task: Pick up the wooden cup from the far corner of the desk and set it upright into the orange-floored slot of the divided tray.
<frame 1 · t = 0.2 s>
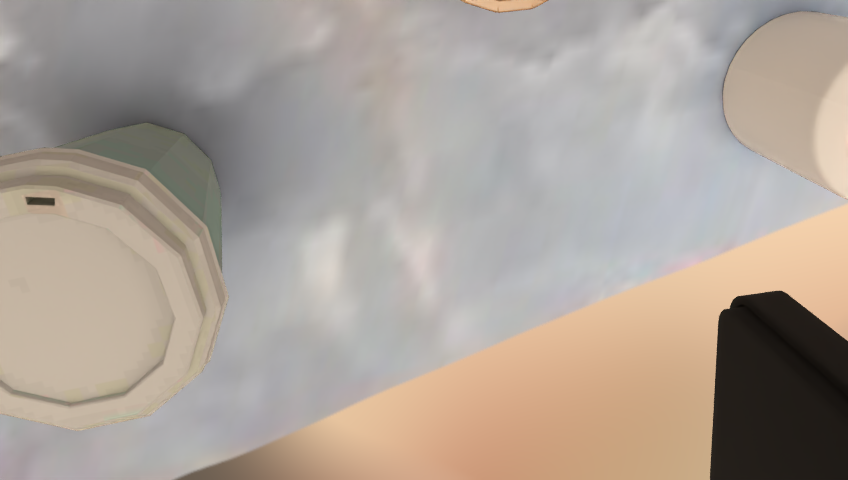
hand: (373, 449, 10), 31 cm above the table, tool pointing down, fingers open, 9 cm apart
pill bottle: (789, 85, 42), on the table
disposable coffee cup: (147, 184, 40), on the table
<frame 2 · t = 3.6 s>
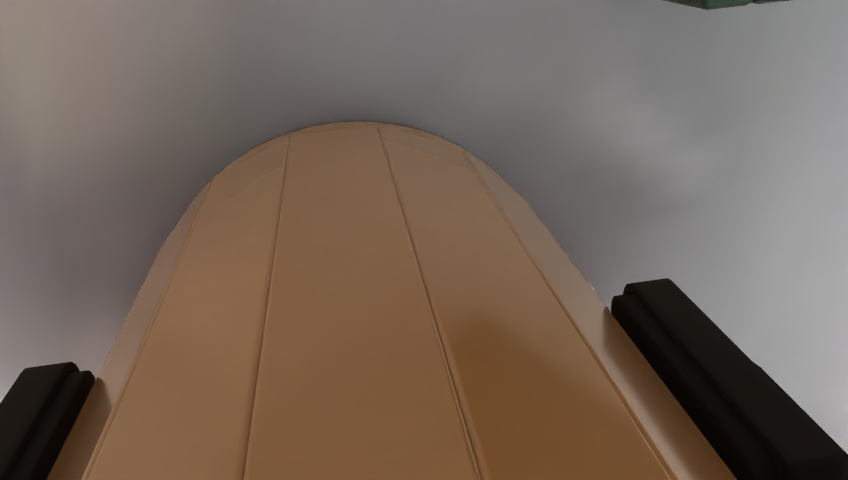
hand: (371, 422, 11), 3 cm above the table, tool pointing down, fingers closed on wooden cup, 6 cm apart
wooden cup: (359, 312, 14), on the table, touching gripper
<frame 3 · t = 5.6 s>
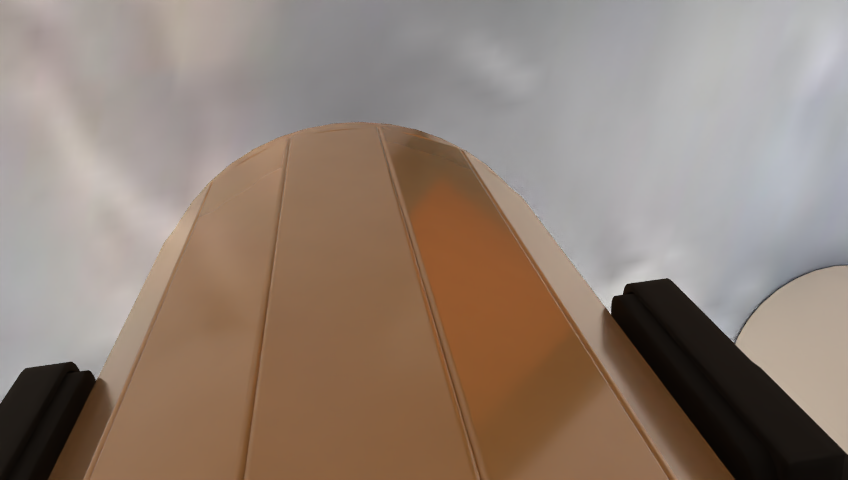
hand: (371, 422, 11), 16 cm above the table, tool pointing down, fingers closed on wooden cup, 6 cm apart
pill bottle: (821, 355, 30), on the table
wooden cup: (359, 313, 14), point 12 cm above the table, touching gripper
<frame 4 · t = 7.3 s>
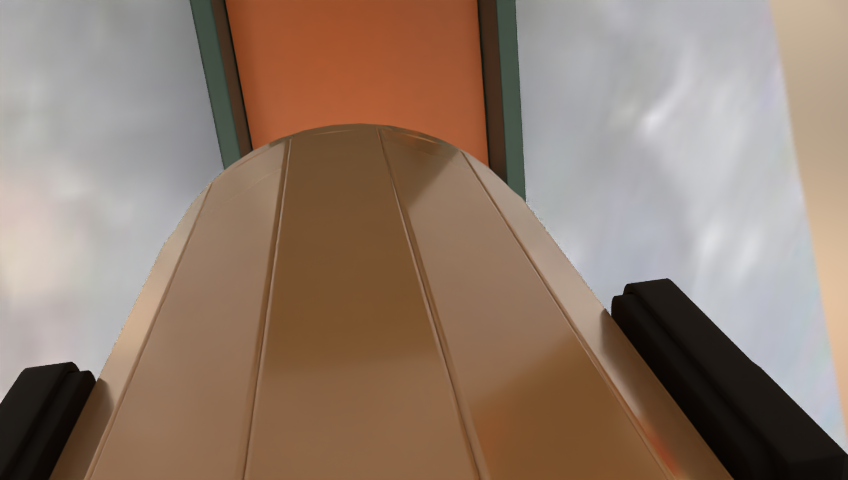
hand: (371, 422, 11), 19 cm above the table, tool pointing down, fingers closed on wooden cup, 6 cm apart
wooden cup: (359, 314, 14), point 15 cm above the table, touching gripper
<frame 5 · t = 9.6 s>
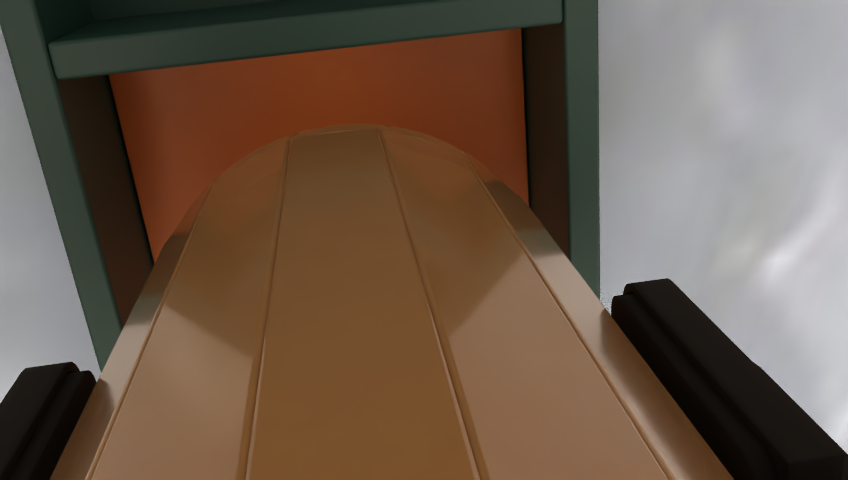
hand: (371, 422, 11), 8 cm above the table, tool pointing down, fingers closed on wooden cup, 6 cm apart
divided tray: (314, 10, 16), on the table
wooden cup: (359, 314, 14), point 4 cm above the table, touching gripper
when the fingers open (4 cm above the table, at t = 11.1 s): wooden cup stays where it is, resting on divided tray.
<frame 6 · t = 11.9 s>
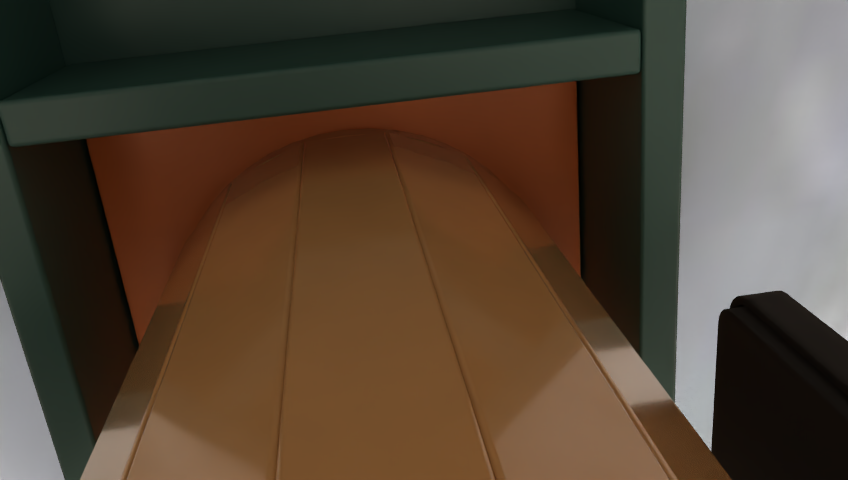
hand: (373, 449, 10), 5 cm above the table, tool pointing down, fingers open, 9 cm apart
divided tray: (329, 49, 13), on the table
wooden cup: (368, 308, 14), point 1 cm above the table, touching divided tray
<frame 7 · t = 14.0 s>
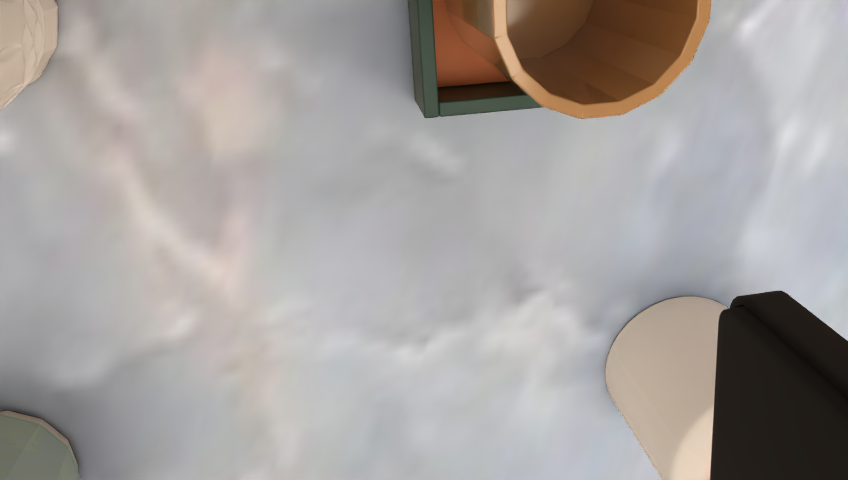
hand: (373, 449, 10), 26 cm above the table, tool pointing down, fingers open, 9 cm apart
pill bottle: (675, 361, 41), on the table
disposable coffee cup: (6, 461, 39), on the table
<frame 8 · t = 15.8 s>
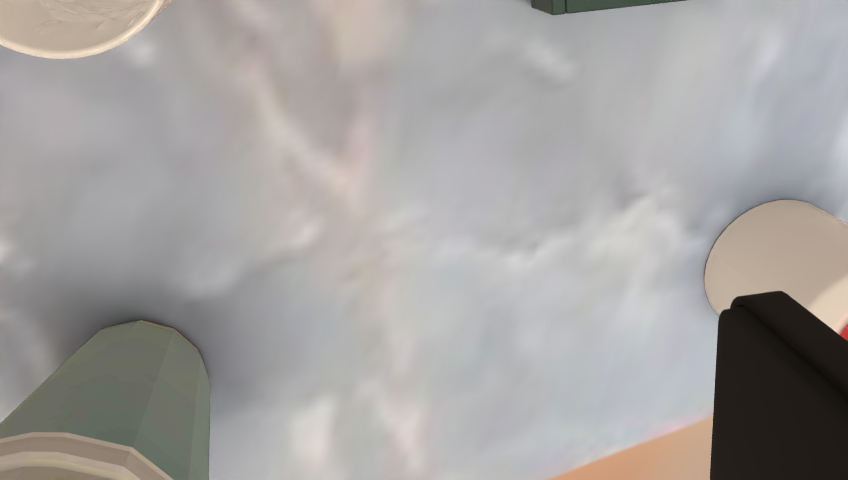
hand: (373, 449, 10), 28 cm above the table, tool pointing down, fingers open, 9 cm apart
pill bottle: (770, 265, 43), on the table
disposable coffee cup: (137, 371, 41), on the table
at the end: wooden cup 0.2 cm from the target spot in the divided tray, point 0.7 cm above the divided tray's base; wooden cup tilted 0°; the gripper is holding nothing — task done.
